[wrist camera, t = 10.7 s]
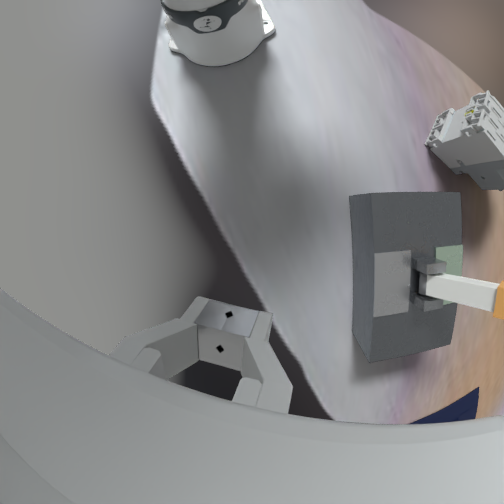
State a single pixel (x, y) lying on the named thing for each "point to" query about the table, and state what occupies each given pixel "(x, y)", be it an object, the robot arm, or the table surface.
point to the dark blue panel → (455, 410)
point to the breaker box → (403, 270)
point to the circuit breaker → (472, 140)
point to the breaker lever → (464, 291)
